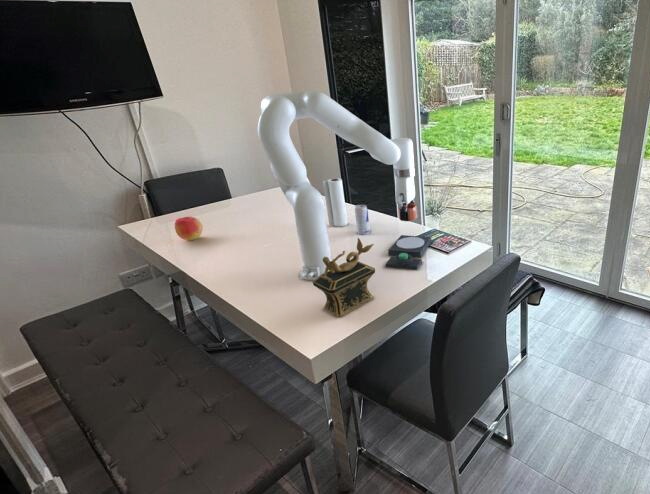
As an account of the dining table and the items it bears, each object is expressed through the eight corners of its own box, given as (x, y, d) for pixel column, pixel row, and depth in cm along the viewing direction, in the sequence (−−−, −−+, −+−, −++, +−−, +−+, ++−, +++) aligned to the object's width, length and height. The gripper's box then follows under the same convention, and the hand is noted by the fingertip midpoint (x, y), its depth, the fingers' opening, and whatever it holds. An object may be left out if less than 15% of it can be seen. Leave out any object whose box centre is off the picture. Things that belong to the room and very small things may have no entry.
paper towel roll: (350, 222, 191) (344, 178, 182) (343, 227, 185) (337, 181, 177) (336, 221, 192) (330, 177, 184) (329, 226, 187) (322, 180, 178)
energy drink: (371, 230, 182) (368, 204, 177) (367, 234, 177) (364, 208, 172) (359, 229, 182) (356, 204, 178) (355, 234, 178) (352, 208, 173)
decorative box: (336, 321, 118) (326, 260, 110) (316, 310, 123) (305, 251, 115) (387, 292, 132) (382, 237, 124) (368, 284, 138) (361, 230, 130)
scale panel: (417, 270, 146) (416, 262, 145) (385, 267, 149) (384, 259, 147) (422, 262, 152) (421, 255, 151) (391, 259, 154) (390, 252, 153)
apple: (190, 244, 169) (183, 222, 165) (173, 242, 172) (166, 220, 168) (210, 236, 177) (204, 214, 173) (194, 233, 180) (187, 212, 176)
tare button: (406, 260, 148) (405, 256, 147) (397, 260, 148) (397, 256, 147) (409, 256, 150) (408, 253, 150) (400, 256, 151) (400, 252, 150)
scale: (420, 258, 155) (420, 251, 154) (388, 255, 158) (388, 249, 157) (431, 242, 169) (431, 236, 168) (401, 240, 171) (401, 234, 170)
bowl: (414, 222, 155) (413, 209, 153) (396, 221, 156) (395, 208, 154) (419, 216, 161) (418, 203, 159) (402, 215, 162) (401, 202, 160)
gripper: (402, 166, 159) (405, 209, 167) (386, 178, 144) (390, 224, 151) (420, 167, 158) (423, 210, 165) (406, 178, 143) (410, 225, 150)
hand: (407, 216), depth 158 cm, fingers closed on bowl, 7 cm apart
